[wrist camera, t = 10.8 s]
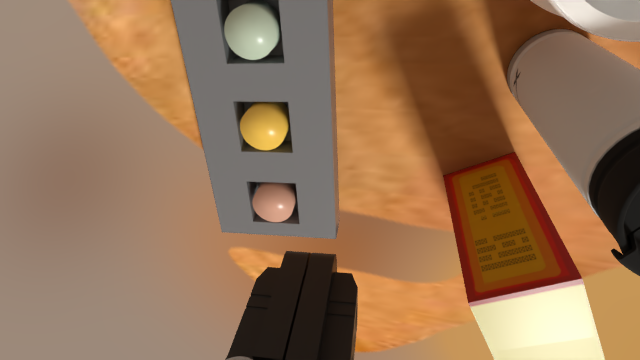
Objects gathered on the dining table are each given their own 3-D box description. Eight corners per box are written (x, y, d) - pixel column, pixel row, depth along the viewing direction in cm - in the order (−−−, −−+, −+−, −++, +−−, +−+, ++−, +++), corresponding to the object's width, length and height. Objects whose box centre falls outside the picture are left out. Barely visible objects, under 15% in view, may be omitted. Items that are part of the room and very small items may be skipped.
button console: (183, -27, 33) (165, -23, 31) (331, -33, 31) (326, -29, 29) (231, 214, 46) (222, 232, 43) (339, 220, 44) (336, 238, 41)
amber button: (245, 96, 37) (236, 107, 35) (289, 97, 36) (282, 108, 34) (251, 137, 39) (243, 149, 37) (293, 138, 39) (287, 150, 36)
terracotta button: (257, 173, 41) (249, 187, 39) (296, 174, 41) (291, 189, 38) (262, 206, 43) (255, 221, 41) (299, 207, 43) (294, 223, 41)
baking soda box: (539, 230, 41) (611, 381, 27) (473, 247, 43) (509, 394, 30) (515, 152, 37) (584, 283, 23) (443, 175, 39) (469, 307, 26)
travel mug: (486, 81, 34) (576, 236, 17) (552, 10, 31) (745, 118, 14) (541, 123, 35) (677, 307, 18) (611, 59, 32) (856, 214, 15)
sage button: (231, 0, 33) (220, 6, 31) (280, -1, 32) (272, 4, 30) (239, 51, 35) (228, 60, 33) (285, 51, 34) (277, 59, 32)
